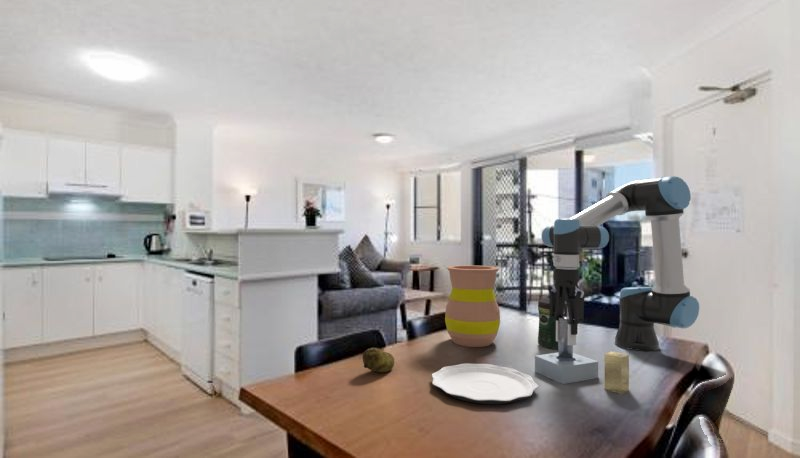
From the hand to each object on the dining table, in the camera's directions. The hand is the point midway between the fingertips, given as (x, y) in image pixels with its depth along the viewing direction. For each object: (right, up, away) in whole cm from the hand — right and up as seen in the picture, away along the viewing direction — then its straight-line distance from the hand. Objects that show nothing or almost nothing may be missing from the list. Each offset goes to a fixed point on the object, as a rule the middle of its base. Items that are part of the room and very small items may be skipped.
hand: (565, 342), depth 131 cm
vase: (-23, -10, +38) cm, 46 cm away
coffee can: (+16, -11, +52) cm, 56 cm away
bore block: (0, -10, 0) cm, 10 cm away
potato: (-58, -10, +1) cm, 59 cm away
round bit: (0, -4, 0) cm, 4 cm away
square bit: (+10, -10, -12) cm, 18 cm away
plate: (-28, -10, -11) cm, 32 cm away
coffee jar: (+7, -10, +32) cm, 35 cm away
